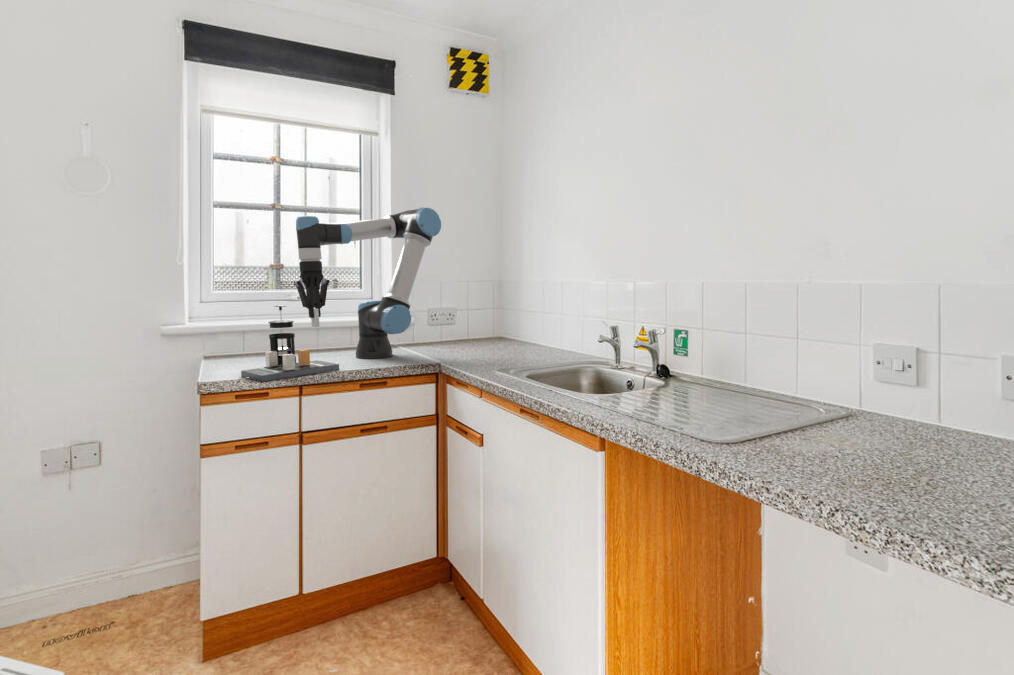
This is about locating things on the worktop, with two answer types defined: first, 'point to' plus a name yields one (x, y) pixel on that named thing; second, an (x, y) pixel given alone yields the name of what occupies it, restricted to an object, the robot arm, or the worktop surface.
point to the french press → (282, 337)
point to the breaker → (303, 357)
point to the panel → (289, 374)
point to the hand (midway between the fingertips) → (315, 326)
